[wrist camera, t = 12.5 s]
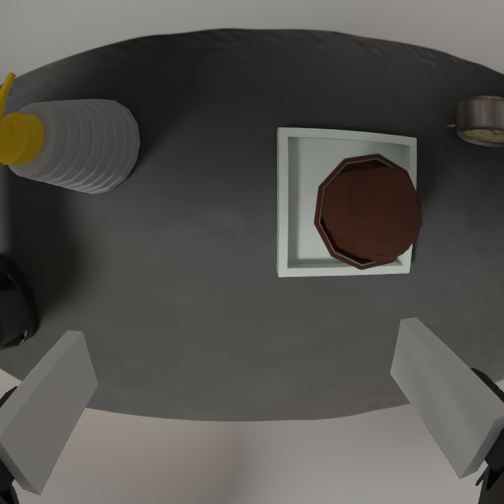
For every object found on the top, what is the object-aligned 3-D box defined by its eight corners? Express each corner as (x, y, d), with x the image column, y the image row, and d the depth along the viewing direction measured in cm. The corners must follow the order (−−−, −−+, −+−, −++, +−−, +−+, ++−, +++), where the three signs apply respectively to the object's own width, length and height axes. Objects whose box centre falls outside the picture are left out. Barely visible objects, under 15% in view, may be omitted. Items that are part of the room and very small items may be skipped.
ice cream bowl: (279, 206, 37) (299, 229, 23) (342, 138, 35) (396, 122, 21) (341, 263, 39) (387, 314, 25) (399, 199, 37) (470, 218, 23)
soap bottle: (157, 115, 35) (73, 70, 15) (120, 208, 38) (18, 246, 18) (80, 89, 33) (-24, 51, 14) (48, 175, 36) (-64, 190, 16)
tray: (276, 270, 40) (278, 276, 37) (276, 130, 35) (278, 127, 33) (401, 267, 40) (409, 272, 37) (407, 139, 36) (416, 138, 33)
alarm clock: (436, 135, 35) (519, 128, 20) (436, 98, 34) (515, 76, 18) (490, 150, 36) (569, 153, 20) (490, 117, 34) (567, 109, 19)
